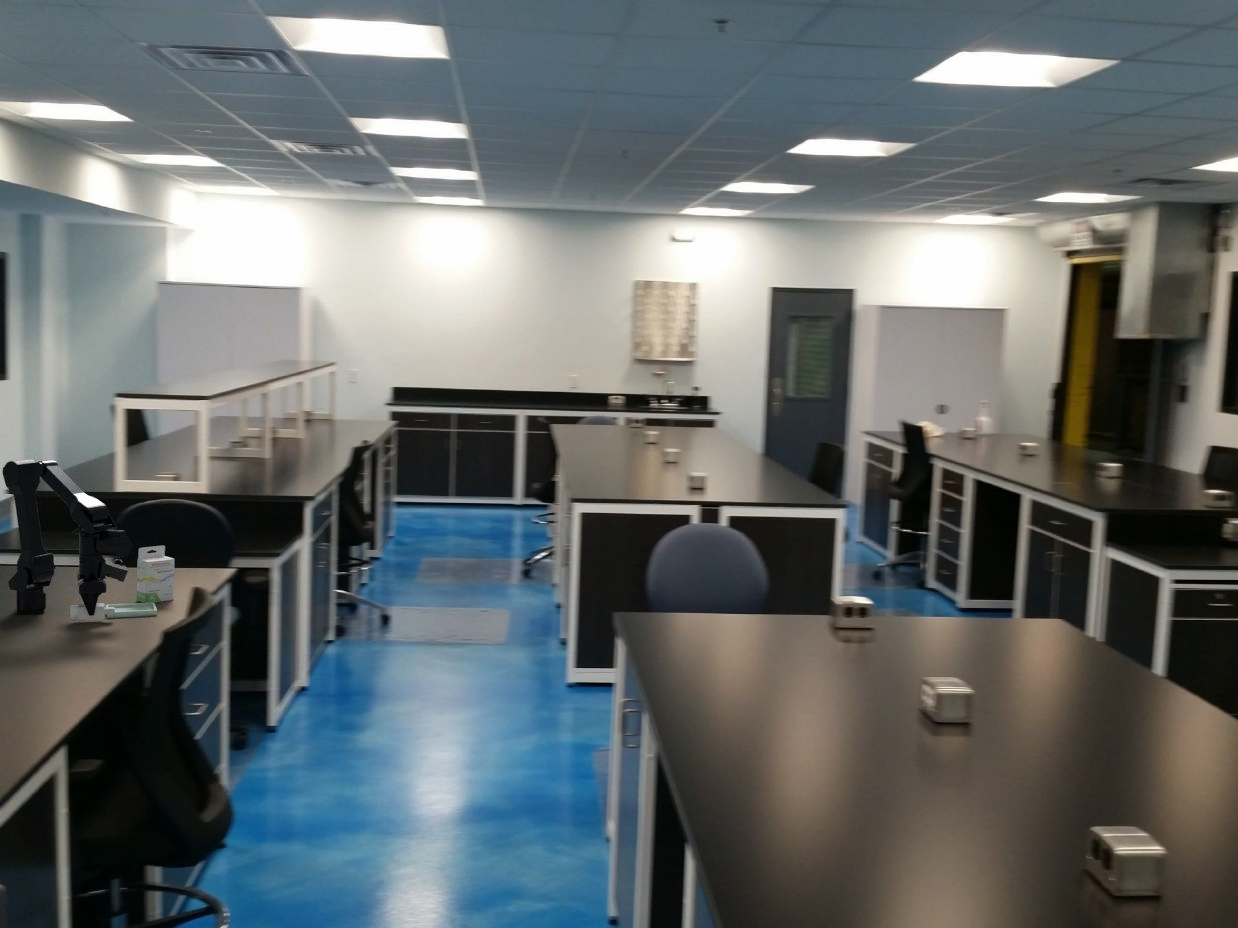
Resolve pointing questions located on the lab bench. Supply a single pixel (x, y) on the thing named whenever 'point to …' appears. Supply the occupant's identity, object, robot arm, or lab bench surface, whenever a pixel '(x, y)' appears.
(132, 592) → the lab bench surface
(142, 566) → the ink box
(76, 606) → the connector
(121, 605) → the tray
